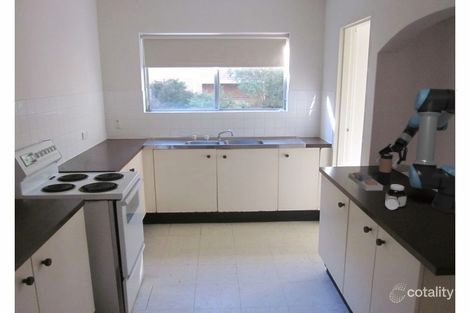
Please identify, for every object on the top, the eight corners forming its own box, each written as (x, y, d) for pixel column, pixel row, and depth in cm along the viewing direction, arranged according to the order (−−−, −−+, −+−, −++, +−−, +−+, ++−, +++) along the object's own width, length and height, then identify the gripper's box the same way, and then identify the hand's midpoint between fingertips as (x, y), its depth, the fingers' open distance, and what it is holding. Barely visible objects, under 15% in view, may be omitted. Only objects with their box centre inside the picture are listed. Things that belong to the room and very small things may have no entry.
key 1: (365, 179, 234) (365, 174, 234) (356, 179, 234) (356, 175, 233) (361, 176, 240) (361, 172, 239) (353, 176, 240) (353, 172, 239)
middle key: (371, 181, 225) (371, 176, 224) (362, 181, 225) (362, 177, 224) (367, 178, 231) (367, 174, 230) (358, 178, 231) (358, 174, 230)
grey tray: (382, 190, 215) (383, 185, 214) (365, 190, 215) (366, 185, 214) (363, 177, 242) (363, 172, 242) (348, 177, 242) (348, 172, 241)
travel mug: (376, 184, 227) (379, 154, 223) (377, 180, 234) (381, 152, 229) (389, 185, 224) (392, 156, 219) (390, 182, 231) (393, 153, 226)
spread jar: (401, 203, 193) (404, 184, 191) (409, 211, 182) (412, 191, 180) (379, 202, 195) (381, 183, 192) (386, 210, 184) (388, 190, 181)
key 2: (377, 187, 217) (377, 183, 216) (368, 187, 216) (368, 183, 216) (373, 184, 223) (373, 180, 222) (364, 184, 222) (364, 180, 221)
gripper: (422, 148, 220) (403, 173, 217) (389, 141, 242) (372, 164, 239) (417, 140, 216) (398, 166, 214) (385, 134, 238) (367, 157, 235)
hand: (384, 165), depth 226 cm, fingers open, 13 cm apart
